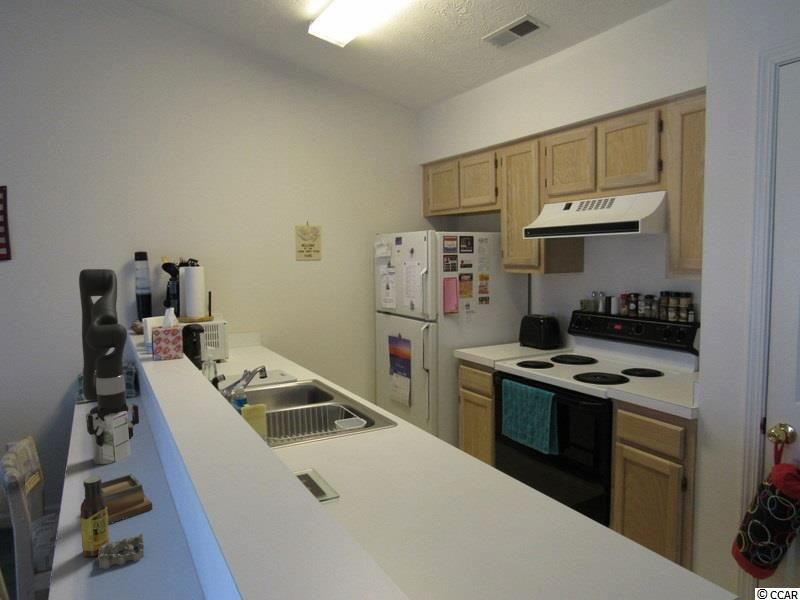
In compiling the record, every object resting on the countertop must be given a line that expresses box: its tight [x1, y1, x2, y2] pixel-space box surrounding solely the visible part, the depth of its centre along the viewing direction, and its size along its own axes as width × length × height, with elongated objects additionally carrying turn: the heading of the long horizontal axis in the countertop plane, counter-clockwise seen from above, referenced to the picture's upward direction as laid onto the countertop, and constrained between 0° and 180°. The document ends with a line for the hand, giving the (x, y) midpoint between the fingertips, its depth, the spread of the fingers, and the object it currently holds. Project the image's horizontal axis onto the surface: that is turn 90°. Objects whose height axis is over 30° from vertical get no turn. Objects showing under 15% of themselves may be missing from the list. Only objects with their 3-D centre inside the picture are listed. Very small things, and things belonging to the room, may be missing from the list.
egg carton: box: [97, 533, 145, 570], centre depth 135 cm, size 11×8×4 cm
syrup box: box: [98, 411, 131, 463], centre depth 157 cm, size 6×6×14 cm
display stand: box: [101, 473, 153, 525], centre depth 159 cm, size 16×14×8 cm
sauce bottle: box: [80, 476, 110, 558], centre depth 137 cm, size 6×6×20 cm
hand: (115, 442), depth 157 cm, fingers closed on syrup box, 7 cm apart
